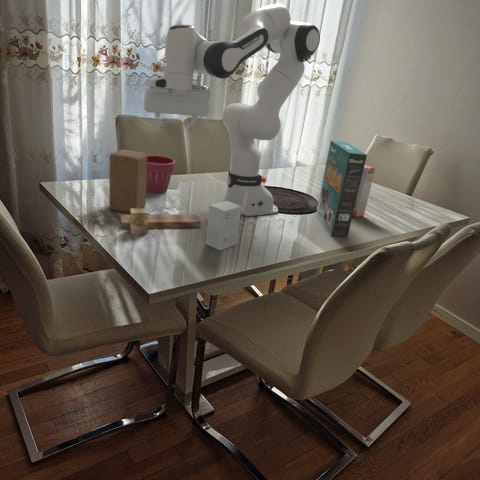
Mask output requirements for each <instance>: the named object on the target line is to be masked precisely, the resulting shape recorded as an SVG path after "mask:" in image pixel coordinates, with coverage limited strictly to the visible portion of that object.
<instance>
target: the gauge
mask: <svg viewBox="0 0 480 480" xmlns="http://www.w3.org/2000/svg"><path fill="white" fill-rule="evenodd" d="M129 215H130V228H129V230H130V233H131V235H142V234H143V235H145V234H149V231H148V230H149V228H148V215H149V211H148V209H147V208H145V207H143V208H141V209H130V213H129Z"/></svg>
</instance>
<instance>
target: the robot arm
mask: <svg viewBox="0 0 480 480" xmlns="http://www.w3.org/2000/svg"><path fill="white" fill-rule="evenodd" d="M291 19H292V18H291V14H290V11H289V9H288V8H287V7H286V6H285V5H284V4H281V3H273V4H269V5H266V6H265V5H264V6H263V7H261V8H258V9H255V10H254V11H252V12H250V13H248V14H247V15H245V16H244V17H243V18H242V19H241V21H240V25H239V35H240V36H239V37H238V38H237V39H235V40H234V41H214V40H213V41H212V40H207V39H206V38H205V37H203V36H201V34H199V32H198V31H197V30H196V28H195V26H194V25H191V24H174V25H171V27H169V28H168V31H167V35H166V39H165V49H164V59H165V66H164V71H163V73H164V74H163V75H159V76H154V77H150V78H149V79H148V85H149V86H148V87H147V88H146V90H145V93H144V99H143V109H144V111H145V112H146V113H154V117H155V119H156V121H157V123H158V124H157V127H158V129H164V127H165V126H164V125H165V122H164V121H162V120H161V119H160V118H161V114H168V115H180V116H190V117H191V119H192V120H191V121H190V123H187V130H188V131H193V130H194V125H195V124H196V122H197V121H198V117H207V116H209V115H210V99H211V90H210V88H209V87H207V86H206V85H199V84H194V73H196V74H197V73H198V74H202V75H207V76H211V77H215V78H218V79H228V78H229V77H231V76H232V75H233V74H234V73H235V72H236V70H237V69H238V68H239V66H241V64H243V62H245V61H246V60H248V59H249V58H251V57H252V56H254V55H255V54H256V53H258V52H260V51H261V50H262V49H264V47H266V49H267V50H268V51H269V52H271V53H275V54H280V55H279V59H278V61H277V62H276V64H274V66H273V67H271V69H270V71H269V72H268V73H267V74H266V75H265V77H264V78H263V80H261V82H260V83H259V84H258V86H257V89H256V92H257V96H258V100H257V101H256V103H255V104H253V105H250V104H246V103H242V102H235V103H230V104H229V105H226V107H225V108H224V110H223V112H222V123H223V125H224V127H225V128H226V131H227V133H228V136H229V142H230V149H231V152H230V153H231V155H230V167H229V170H228V174H227V179H226V185H227V187H226V192H225V195H224V198H223V201H222V202H224V201H229V202H232V203H234V204H237V205H239V206H241V214H240V215H243V216H246V217H253V216H262V215H263V216H264V215H274V214H275V215H277V214H278V213H279V209H278V206H277V205H275V204H274V197H273V194H272V193H271V192H270V191H269V190H268V189H267V188H266V187H265V186H264V185H263V184H264V183H266V182H267V181H268V180H267V178H266V177H265V176H262V175H261V174H259V172H260V163H261V158H262V157H261V152H260V150H259V149H258V147H257V145H256V141H255V140H257V141H271V140H274V139H275V138H276V137H277V136H278V134H279V132H280V131H281V125H282V124H281V120H280V119H281V118H280V117H279V116H280V111H281V109H282V107H283V105H284V104H285V102H286V100H287V99H288V98H289V96H290V95H291V94H292V92H293V91H294V90H295V88H296V87H297V85H298V84H299V82H300V80H301V78H302V76H303V75H304V72H305V62H307V61H310V59H311V57H312V56H313V55H314V54H315V52H316V51H317V49H318V47H319V45H320V41H321V35H320V29H319V28H318V26H316V25H314V24H312V23H310V22H300V21H294V20H293V21H292V20H291ZM262 183H263V184H262Z"/></svg>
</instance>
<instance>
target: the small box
mask: <svg viewBox="0 0 480 480" xmlns="http://www.w3.org/2000/svg"><path fill="white" fill-rule="evenodd" d="M223 201H224V200H223ZM223 201H220V202H216V203H213V204H209V205H208V206H209V207H208V208H209V209H208V218H207V228H206V230H207V231H206V242H205V244H206V245H208V246H209V247H211V248H213V249H215V250H218V251H220V252H221V251H223V250H225V249H229V248H231V247H234V246H236V245H238V236H239V228H240V220H241V215H242V214H241V206H239V205H237V204H234V203H232V202H229V201H224V202H223Z"/></svg>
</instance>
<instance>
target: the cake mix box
mask: <svg viewBox="0 0 480 480" xmlns="http://www.w3.org/2000/svg"><path fill="white" fill-rule="evenodd" d="M367 157H368V155H367V154H366V153H365V152H363V151H361V150H360V149H358V148H356V147H355V146H354V145H352V144H350V143H349V142H346V141H339V140H338V141H337V140H330V144H329V148H328V152H327V158H326V162H325V163H326V164H325V169H324V174H323V179H322V182H321V183H322V184H321V189H320V193H319V197H318V198H319V199H318V203H317V208H316V212H315V216H316V218H317V219H318V220H319V222H320V223H321V225H322V226H323V227H324V229H325V230H326V232H327V233H328V234H329V236H330V237H333V238H334V237H336V238H346V239H348V236H349V232H350V227H351V224H352V219H353V212H354V207H355V203H356V199H357V195H358V191H359V186H360V182H361V178H362V174H363V169H364V165H366V160H367Z"/></svg>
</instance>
